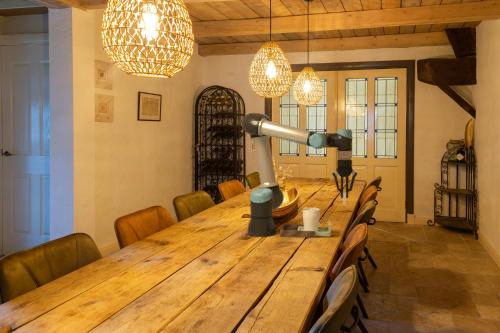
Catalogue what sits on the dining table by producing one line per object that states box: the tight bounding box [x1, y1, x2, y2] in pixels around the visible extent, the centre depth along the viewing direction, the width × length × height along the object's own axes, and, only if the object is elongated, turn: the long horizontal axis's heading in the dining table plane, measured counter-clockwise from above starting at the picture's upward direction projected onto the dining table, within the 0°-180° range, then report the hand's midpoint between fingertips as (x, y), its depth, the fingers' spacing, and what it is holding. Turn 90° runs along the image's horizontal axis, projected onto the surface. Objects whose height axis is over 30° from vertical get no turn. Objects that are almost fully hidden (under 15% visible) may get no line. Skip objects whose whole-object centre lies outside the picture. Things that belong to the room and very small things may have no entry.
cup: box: [302, 207, 321, 232], centre depth 237 cm, size 9×9×12 cm
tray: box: [298, 219, 332, 237], centre depth 237 cm, size 17×13×6 cm
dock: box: [279, 223, 316, 239], centre depth 238 cm, size 18×16×3 cm
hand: (344, 204), depth 234 cm, fingers closed
